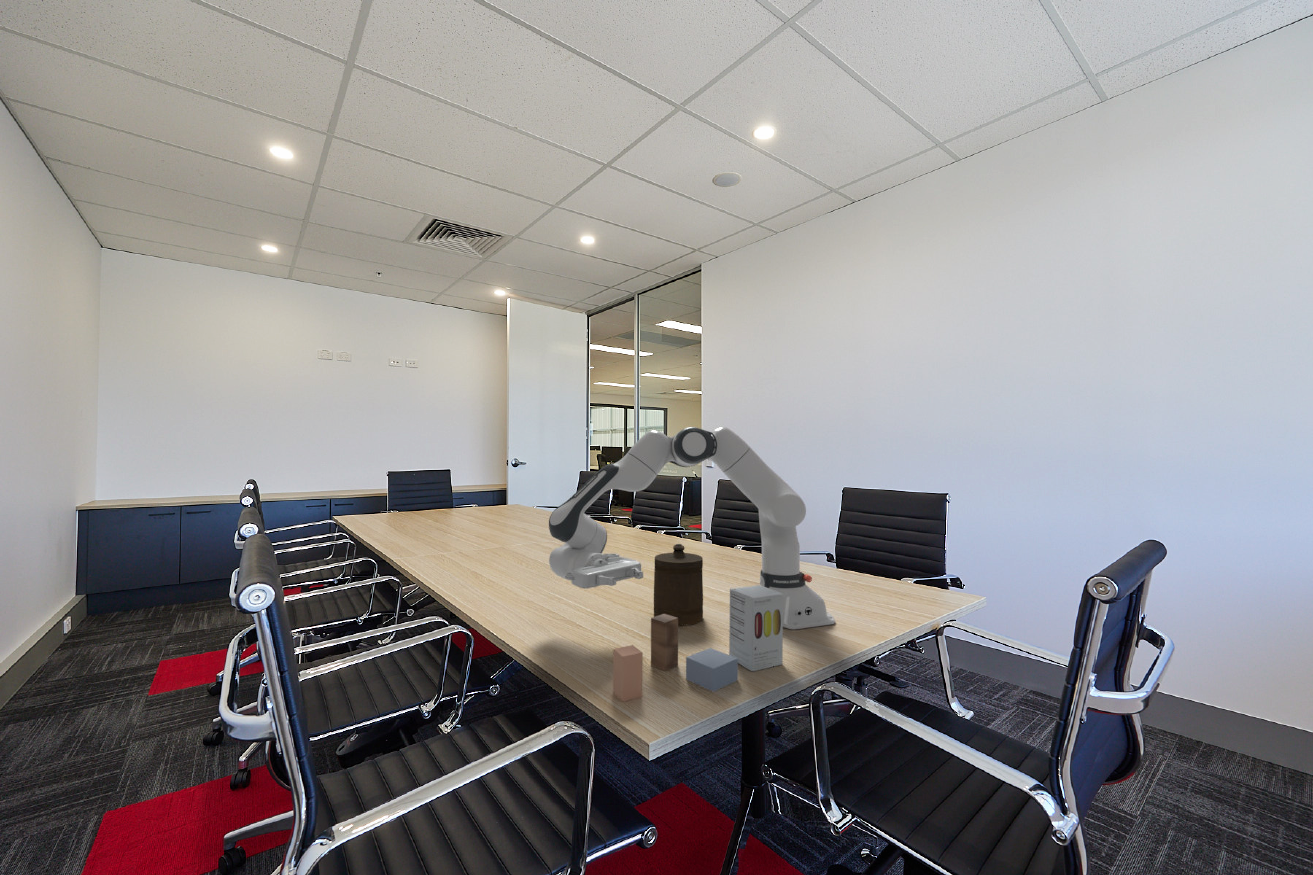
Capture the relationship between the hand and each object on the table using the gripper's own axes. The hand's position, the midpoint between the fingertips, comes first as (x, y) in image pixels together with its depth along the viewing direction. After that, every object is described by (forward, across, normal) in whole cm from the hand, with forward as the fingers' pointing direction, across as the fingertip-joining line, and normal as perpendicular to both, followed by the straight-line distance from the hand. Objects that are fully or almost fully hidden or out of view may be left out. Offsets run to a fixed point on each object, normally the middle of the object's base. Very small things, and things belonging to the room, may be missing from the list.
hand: (628, 578), depth 129 cm
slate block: (+25, +2, +18) cm, 31 cm away
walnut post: (+12, 0, +18) cm, 22 cm away
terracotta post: (+16, -16, +18) cm, 29 cm away
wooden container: (-8, +28, +18) cm, 35 cm away
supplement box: (+27, +17, +18) cm, 36 cm away
